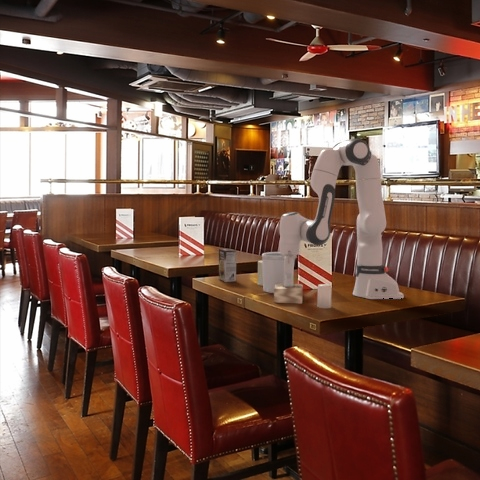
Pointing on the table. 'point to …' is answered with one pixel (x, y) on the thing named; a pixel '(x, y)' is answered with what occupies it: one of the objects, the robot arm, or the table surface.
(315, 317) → the table surface
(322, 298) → the white rounded block
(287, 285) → the square bar
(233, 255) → the coffee box
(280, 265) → the utensil holder
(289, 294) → the socket block
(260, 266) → the can
